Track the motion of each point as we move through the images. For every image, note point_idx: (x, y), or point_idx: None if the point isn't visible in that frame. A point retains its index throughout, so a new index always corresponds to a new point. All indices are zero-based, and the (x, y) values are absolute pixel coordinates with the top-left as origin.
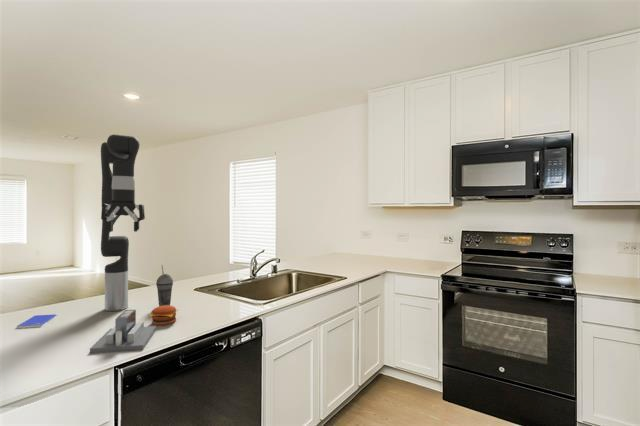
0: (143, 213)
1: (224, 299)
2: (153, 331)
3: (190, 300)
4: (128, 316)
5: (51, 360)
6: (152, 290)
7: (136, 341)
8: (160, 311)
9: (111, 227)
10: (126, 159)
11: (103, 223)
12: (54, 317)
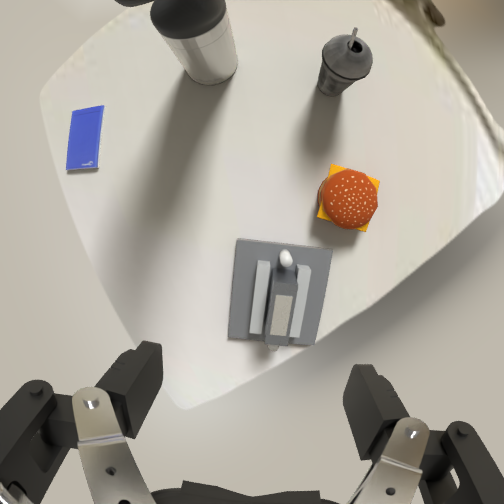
0: (481, 476)
1: (449, 81)
2: (327, 275)
3: (381, 52)
4: (289, 334)
5: (181, 341)
6: None
7: (301, 327)
8: (345, 222)
9: (151, 392)
10: None
11: None
12: (103, 115)
